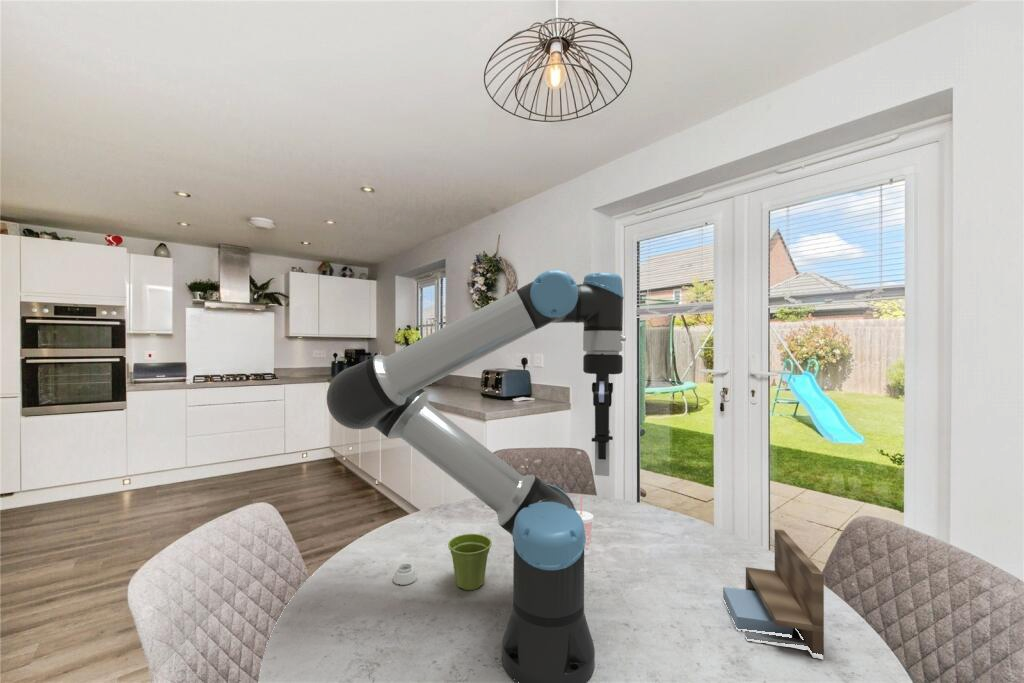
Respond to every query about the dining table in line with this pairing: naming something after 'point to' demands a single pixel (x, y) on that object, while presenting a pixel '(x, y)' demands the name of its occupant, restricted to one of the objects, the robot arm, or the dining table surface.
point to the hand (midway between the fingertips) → (602, 474)
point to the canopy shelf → (791, 594)
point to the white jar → (405, 574)
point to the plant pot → (469, 559)
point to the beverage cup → (586, 526)
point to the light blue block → (750, 611)
